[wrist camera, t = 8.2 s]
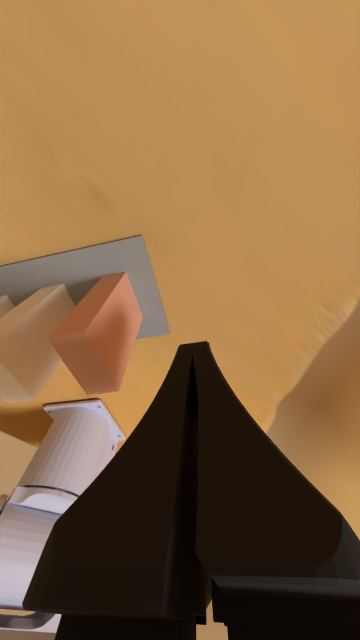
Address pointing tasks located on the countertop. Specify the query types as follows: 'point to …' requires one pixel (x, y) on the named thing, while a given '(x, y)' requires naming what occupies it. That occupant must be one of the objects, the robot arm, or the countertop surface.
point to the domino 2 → (100, 334)
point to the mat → (91, 277)
